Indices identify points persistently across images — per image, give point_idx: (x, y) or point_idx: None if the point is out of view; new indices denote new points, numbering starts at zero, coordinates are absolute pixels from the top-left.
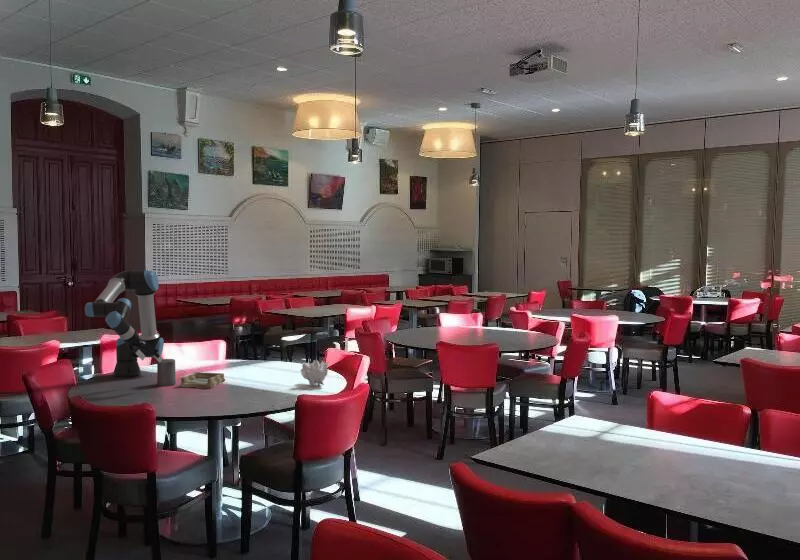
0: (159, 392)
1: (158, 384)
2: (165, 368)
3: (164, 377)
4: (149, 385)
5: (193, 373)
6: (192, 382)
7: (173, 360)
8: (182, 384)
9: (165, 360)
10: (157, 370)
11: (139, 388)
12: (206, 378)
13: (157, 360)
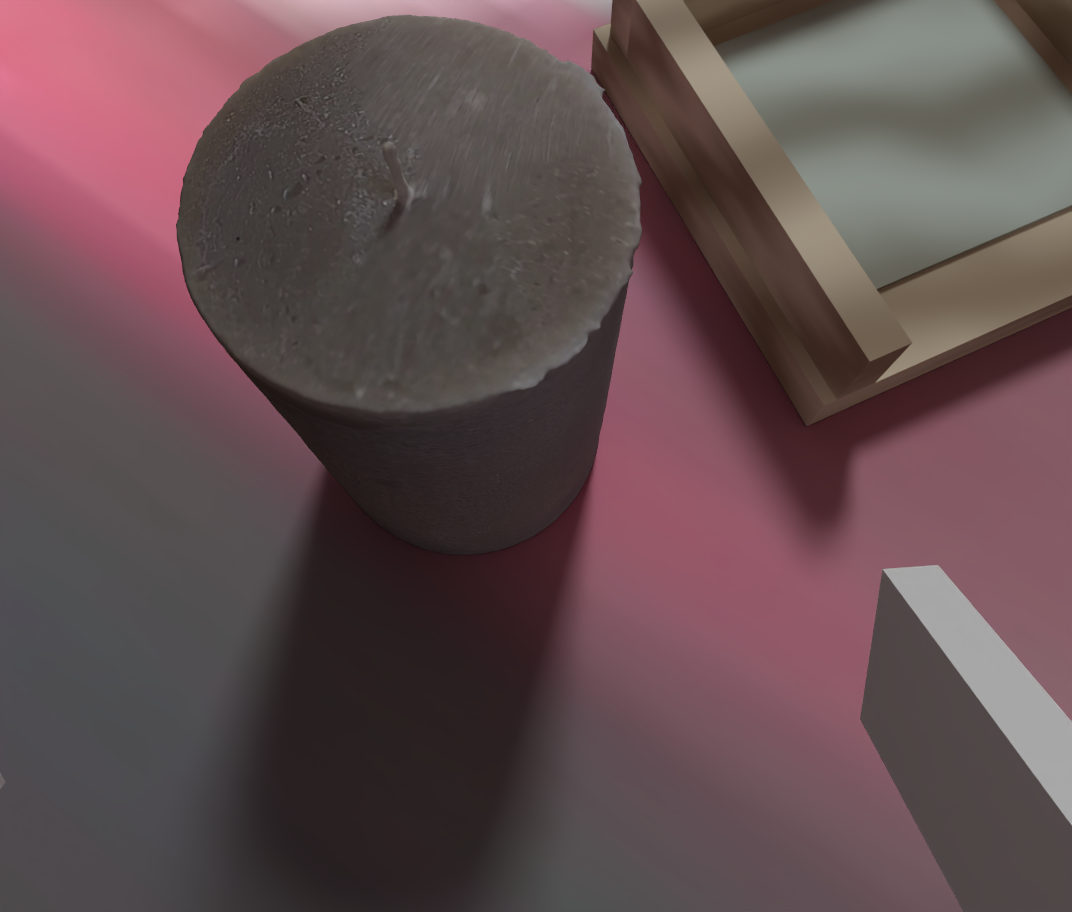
0: (928, 893)
1: (441, 549)
2: (574, 405)
3: (557, 483)
4: (304, 625)
5: (666, 35)
6: (920, 270)
7: (576, 107)
8: (850, 397)
9: (421, 225)
10: (355, 474)
11: (359, 890)
12: (783, 1)
13: (932, 821)
